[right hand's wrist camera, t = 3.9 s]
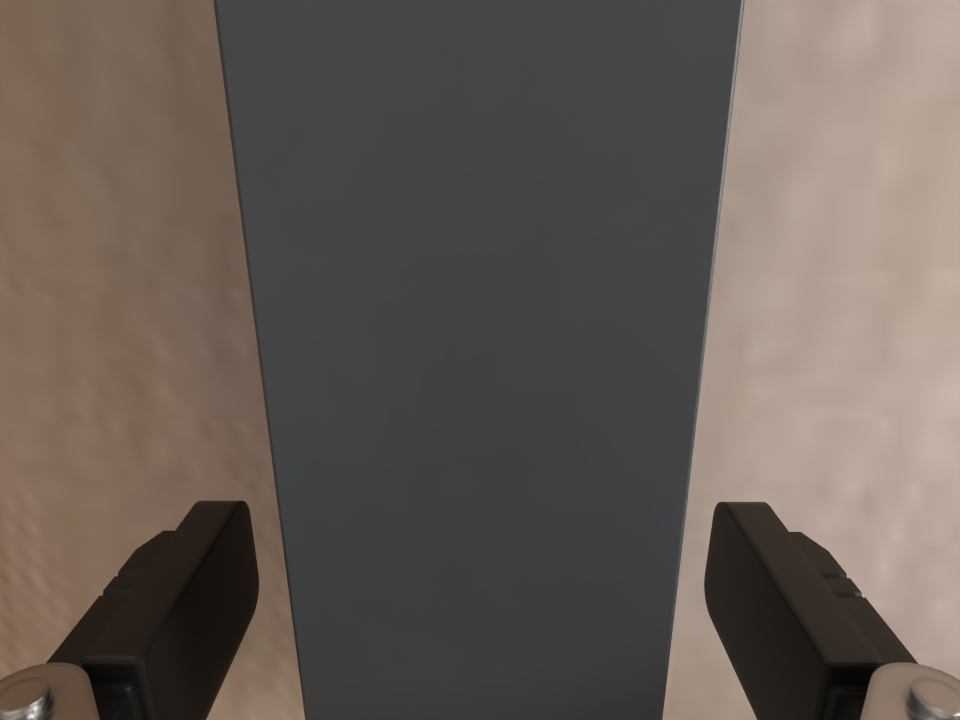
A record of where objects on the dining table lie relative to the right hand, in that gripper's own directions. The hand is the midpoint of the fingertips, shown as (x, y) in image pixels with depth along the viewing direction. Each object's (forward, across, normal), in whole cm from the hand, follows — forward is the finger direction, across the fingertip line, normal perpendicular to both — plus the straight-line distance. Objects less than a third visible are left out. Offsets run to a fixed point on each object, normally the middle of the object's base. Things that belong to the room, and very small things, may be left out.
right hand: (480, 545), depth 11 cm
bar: (+4, 0, -33) cm, 33 cm away
